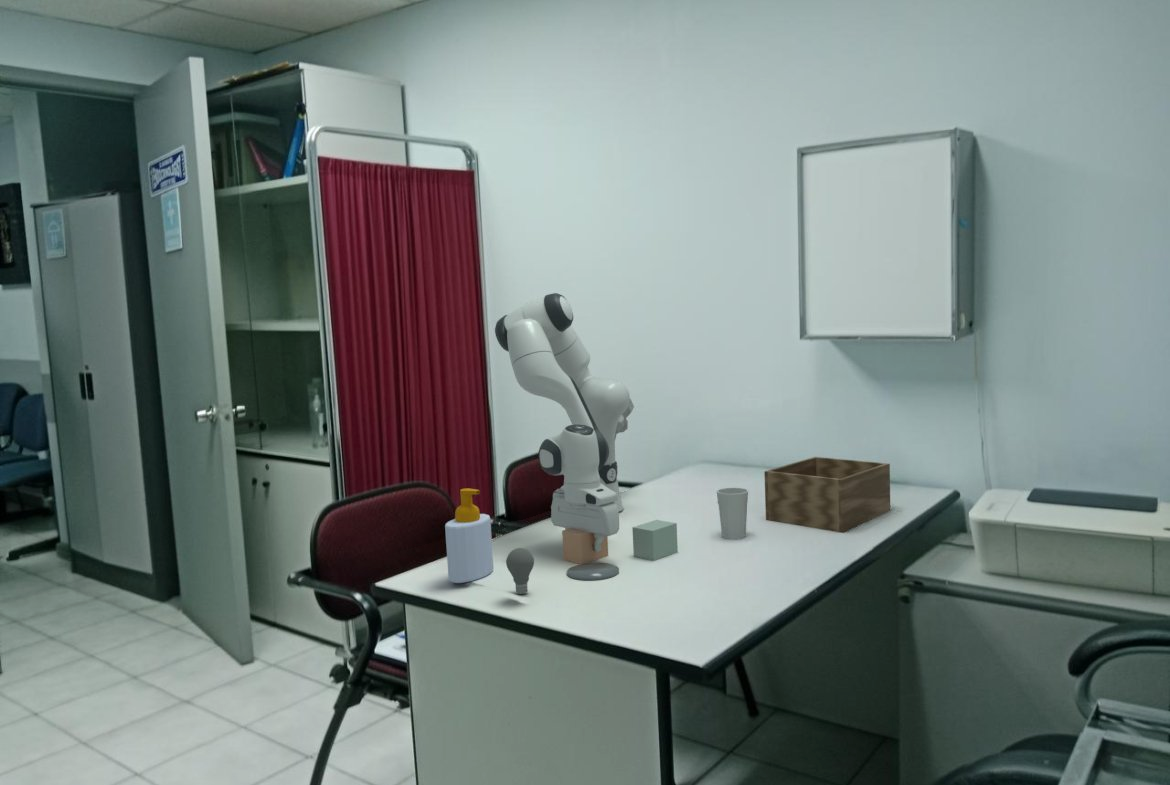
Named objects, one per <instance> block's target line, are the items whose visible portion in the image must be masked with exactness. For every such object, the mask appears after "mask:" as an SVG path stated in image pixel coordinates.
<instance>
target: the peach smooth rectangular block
mask: <svg viewBox="0 0 1170 785" xmlns="http://www.w3.org/2000/svg"><path fill="white" fill-rule="evenodd" d="M561 531H562V532H561V533H562V534H561V535H562V552H563V560H564V561H566V562H572V563H576V564H578V565H579V564H585V563H592V562H593V561H596V560H599V559H601V558H604V557H605V558H606V557H608V556H609V541H608V536H605V537H604V539H603V541H602V543H601V551H598V552H597V551H593V550H592V544H593V543H595V540H596V538H595V537H594V533H590V532H586V531H581V530H576V529H567V530H565V529H563V530H561Z"/></svg>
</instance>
